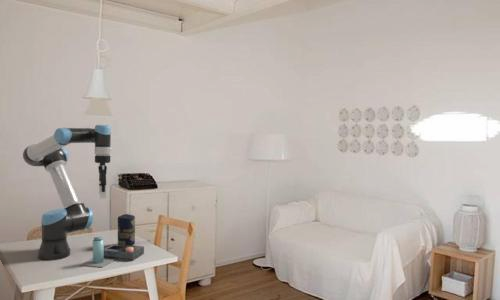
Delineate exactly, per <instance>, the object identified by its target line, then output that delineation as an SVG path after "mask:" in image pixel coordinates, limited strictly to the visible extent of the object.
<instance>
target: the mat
mask: <svg viewBox="0 0 500 300" xmlns="http://www.w3.org/2000/svg"><path fill="white" fill-rule="evenodd" d="M116 260H117V259H109V258H104V262H102V263H97V264H96V263H93V257H92V258H90V259H88V260H86V261H85V262H83V263H81V264H79V266H81V267H90V268H91V267H92V268H104V267H106V266H108V265H109V263H110V264H111V263H113V262H115V261H116Z"/></svg>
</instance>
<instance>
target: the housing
mask: <svg viewBox="0 0 500 300" xmlns="http://www.w3.org/2000/svg"><path fill="white" fill-rule="evenodd" d="M127 247H134V251H132V252H128V251H126V248H127ZM144 254H145V246H144V245H143V246H142V245H121V244H118V243H113V244H110V245H108V246H107V247H104V258H109V259H116V260H120V261H122V260H123V261H131V262H133V261H135V260H137V259H139V258H140V257H141V256H143V255H144Z"/></svg>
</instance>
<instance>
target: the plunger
mask: <svg viewBox="0 0 500 300" xmlns="http://www.w3.org/2000/svg"><path fill="white" fill-rule="evenodd" d="M126 251H128V252H132V251H134V247H127V248H126Z"/></svg>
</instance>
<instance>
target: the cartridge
mask: <svg viewBox="0 0 500 300" xmlns="http://www.w3.org/2000/svg"><path fill="white" fill-rule="evenodd" d="M104 241H105V240H104V239H103V236H97V237H93V240H92V258H93V263H96V264H97V263H102V262H104V248H105V246H104V245H105V244H104Z"/></svg>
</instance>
